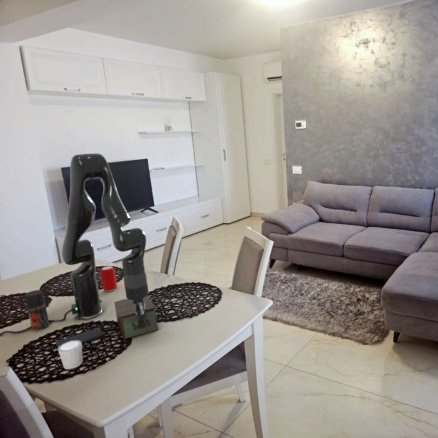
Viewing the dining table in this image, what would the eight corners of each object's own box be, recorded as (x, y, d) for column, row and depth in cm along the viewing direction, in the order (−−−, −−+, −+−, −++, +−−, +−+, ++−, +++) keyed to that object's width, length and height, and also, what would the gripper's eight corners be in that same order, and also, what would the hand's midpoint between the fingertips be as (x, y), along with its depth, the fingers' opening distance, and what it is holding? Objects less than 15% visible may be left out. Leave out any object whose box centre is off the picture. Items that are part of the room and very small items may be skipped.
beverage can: (119, 288, 184) (116, 266, 181) (108, 293, 179) (104, 270, 176) (112, 286, 187) (109, 264, 184) (101, 291, 182) (97, 268, 179)
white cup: (68, 358, 125) (64, 340, 124) (88, 357, 126) (85, 339, 124) (57, 371, 118) (53, 352, 117) (78, 369, 119) (75, 350, 117)
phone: (55, 341, 135) (99, 327, 144) (55, 343, 135) (99, 329, 144) (58, 350, 129) (103, 334, 138) (59, 352, 129) (104, 336, 139)
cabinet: (157, 329, 143) (155, 307, 141) (123, 339, 136) (120, 316, 134) (149, 314, 155) (146, 293, 153) (117, 323, 149) (114, 301, 147)
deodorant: (52, 324, 150) (46, 290, 146) (38, 331, 144) (31, 296, 141) (42, 322, 152) (35, 289, 148) (28, 329, 146) (21, 295, 143)
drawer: (159, 333, 138) (157, 315, 136) (127, 343, 132) (124, 324, 130) (148, 315, 153) (146, 298, 151) (119, 323, 147) (116, 305, 145)
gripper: (121, 280, 133) (128, 323, 136) (127, 292, 122) (134, 338, 125) (143, 275, 137) (149, 317, 140) (151, 286, 126) (156, 331, 129)
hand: (142, 327), depth 133 cm, fingers closed
